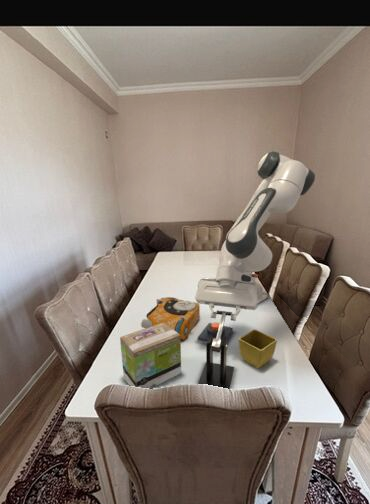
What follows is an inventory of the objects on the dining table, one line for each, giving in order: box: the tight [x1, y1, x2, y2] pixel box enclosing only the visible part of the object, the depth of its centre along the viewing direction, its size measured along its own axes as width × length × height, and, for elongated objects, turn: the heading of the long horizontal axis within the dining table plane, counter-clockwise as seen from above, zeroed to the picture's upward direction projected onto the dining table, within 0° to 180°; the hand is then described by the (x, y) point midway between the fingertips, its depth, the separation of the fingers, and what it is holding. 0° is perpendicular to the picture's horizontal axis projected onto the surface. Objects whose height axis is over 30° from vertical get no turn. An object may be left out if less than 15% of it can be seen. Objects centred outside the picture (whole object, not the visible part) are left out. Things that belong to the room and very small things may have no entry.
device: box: [140, 296, 201, 341], centre depth 108 cm, size 23×8×30 cm
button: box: [211, 322, 220, 331], centre depth 96 cm, size 4×4×2 cm
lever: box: [212, 310, 233, 354], centre depth 76 cm, size 15×5×2 cm, turn 162°
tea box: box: [119, 322, 182, 389], centre depth 74 cm, size 15×10×15 cm, turn 126°
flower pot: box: [238, 329, 278, 369], centre depth 80 cm, size 9×9×9 cm
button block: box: [197, 322, 234, 343], centre depth 96 cm, size 12×10×4 cm
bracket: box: [197, 335, 235, 390], centre depth 73 cm, size 12×9×14 cm
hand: (223, 319), depth 79 cm, fingers closed on lever, 5 cm apart
